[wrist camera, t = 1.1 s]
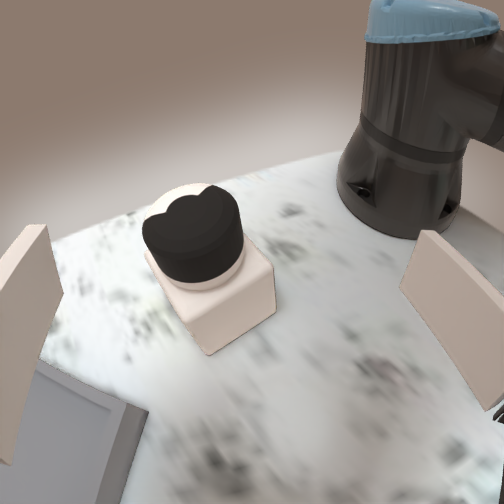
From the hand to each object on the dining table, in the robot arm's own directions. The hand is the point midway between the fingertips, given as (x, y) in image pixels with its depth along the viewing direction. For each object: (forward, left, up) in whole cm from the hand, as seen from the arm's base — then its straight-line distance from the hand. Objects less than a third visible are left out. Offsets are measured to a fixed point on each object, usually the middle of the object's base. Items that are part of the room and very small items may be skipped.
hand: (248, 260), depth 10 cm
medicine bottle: (+6, -6, -17) cm, 18 cm away
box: (+20, +16, -16) cm, 30 cm away
